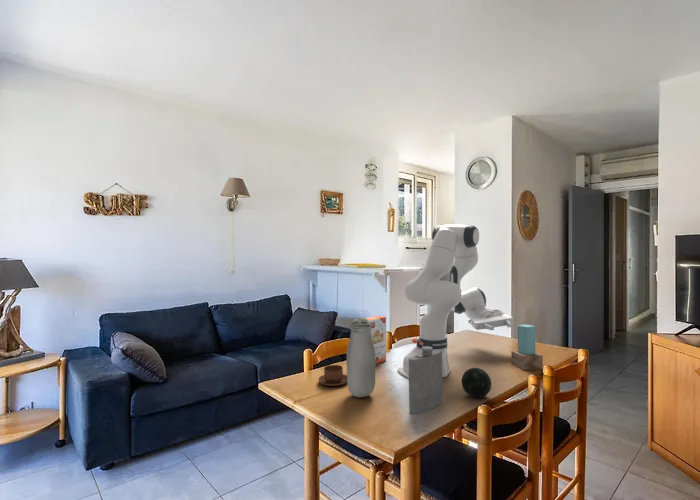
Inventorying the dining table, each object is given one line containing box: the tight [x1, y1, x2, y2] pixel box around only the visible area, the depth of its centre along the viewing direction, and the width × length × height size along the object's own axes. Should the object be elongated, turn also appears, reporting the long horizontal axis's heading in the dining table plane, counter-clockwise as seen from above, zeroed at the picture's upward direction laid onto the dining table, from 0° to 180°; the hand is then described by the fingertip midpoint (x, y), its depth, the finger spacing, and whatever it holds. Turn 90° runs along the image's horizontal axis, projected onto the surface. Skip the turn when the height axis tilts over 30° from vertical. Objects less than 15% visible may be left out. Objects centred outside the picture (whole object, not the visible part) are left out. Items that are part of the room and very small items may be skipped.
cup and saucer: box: [318, 364, 347, 387], centre depth 154 cm, size 12×12×6 cm
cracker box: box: [365, 315, 387, 365], centre depth 179 cm, size 14×6×21 cm, turn 136°
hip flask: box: [408, 346, 444, 415], centre depth 130 cm, size 16×4×20 cm, turn 132°
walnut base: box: [511, 350, 544, 371], centre depth 171 cm, size 9×9×6 cm
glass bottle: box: [346, 317, 376, 398], centre depth 140 cm, size 10×10×28 cm
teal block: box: [517, 323, 537, 355], centre depth 171 cm, size 5×5×12 cm
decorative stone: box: [461, 367, 492, 399], centre depth 138 cm, size 10×10×10 cm
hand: (501, 327), depth 182 cm, fingers open, 8 cm apart
